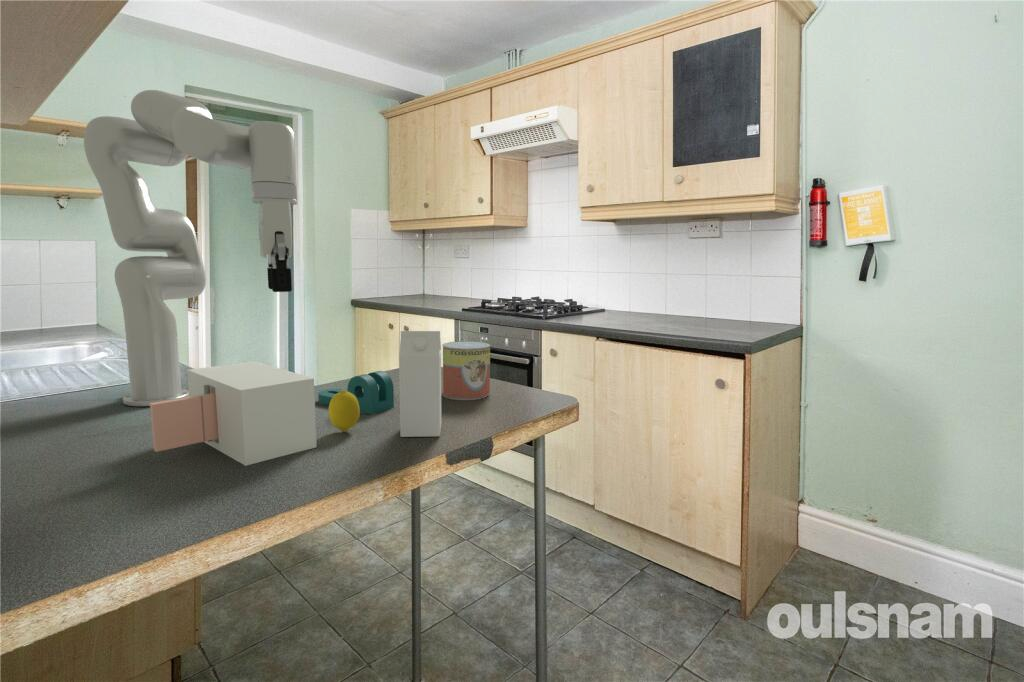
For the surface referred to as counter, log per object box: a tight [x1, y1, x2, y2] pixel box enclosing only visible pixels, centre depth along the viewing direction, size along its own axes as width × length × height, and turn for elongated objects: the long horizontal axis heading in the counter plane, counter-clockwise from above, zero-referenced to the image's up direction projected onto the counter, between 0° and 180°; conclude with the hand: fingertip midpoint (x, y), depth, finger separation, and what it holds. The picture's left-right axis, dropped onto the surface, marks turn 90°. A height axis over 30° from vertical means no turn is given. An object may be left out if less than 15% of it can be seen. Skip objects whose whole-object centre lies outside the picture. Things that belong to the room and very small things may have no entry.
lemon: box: [328, 389, 361, 433], centre depth 105 cm, size 6×6×8 cm
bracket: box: [317, 370, 395, 415], centre depth 124 cm, size 18×7×8 cm, turn 60°
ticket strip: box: [149, 393, 218, 453], centre depth 94 cm, size 18×1×8 cm, turn 138°
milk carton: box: [398, 330, 442, 438], centre depth 105 cm, size 7×7×19 cm
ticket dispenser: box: [186, 360, 318, 467], centre depth 98 cm, size 13×22×12 cm, turn 48°
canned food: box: [441, 340, 491, 401], centre depth 134 cm, size 11×11×12 cm
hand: (279, 290), depth 104 cm, fingers open, 9 cm apart
